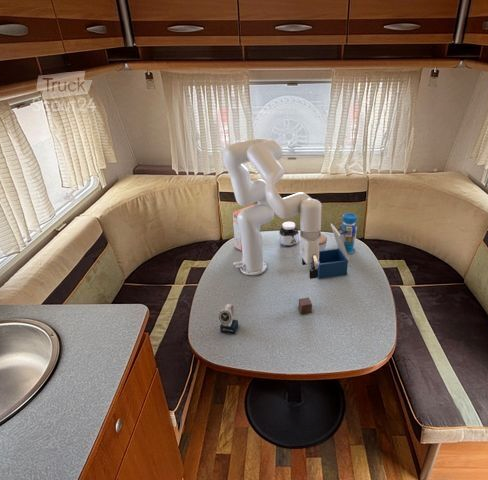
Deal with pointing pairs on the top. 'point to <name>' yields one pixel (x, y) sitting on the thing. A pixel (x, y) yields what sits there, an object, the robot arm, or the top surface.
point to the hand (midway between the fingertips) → (309, 270)
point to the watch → (228, 320)
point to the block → (305, 305)
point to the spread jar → (288, 234)
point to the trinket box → (322, 242)
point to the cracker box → (238, 229)
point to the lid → (340, 239)
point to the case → (331, 263)
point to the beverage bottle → (349, 232)
